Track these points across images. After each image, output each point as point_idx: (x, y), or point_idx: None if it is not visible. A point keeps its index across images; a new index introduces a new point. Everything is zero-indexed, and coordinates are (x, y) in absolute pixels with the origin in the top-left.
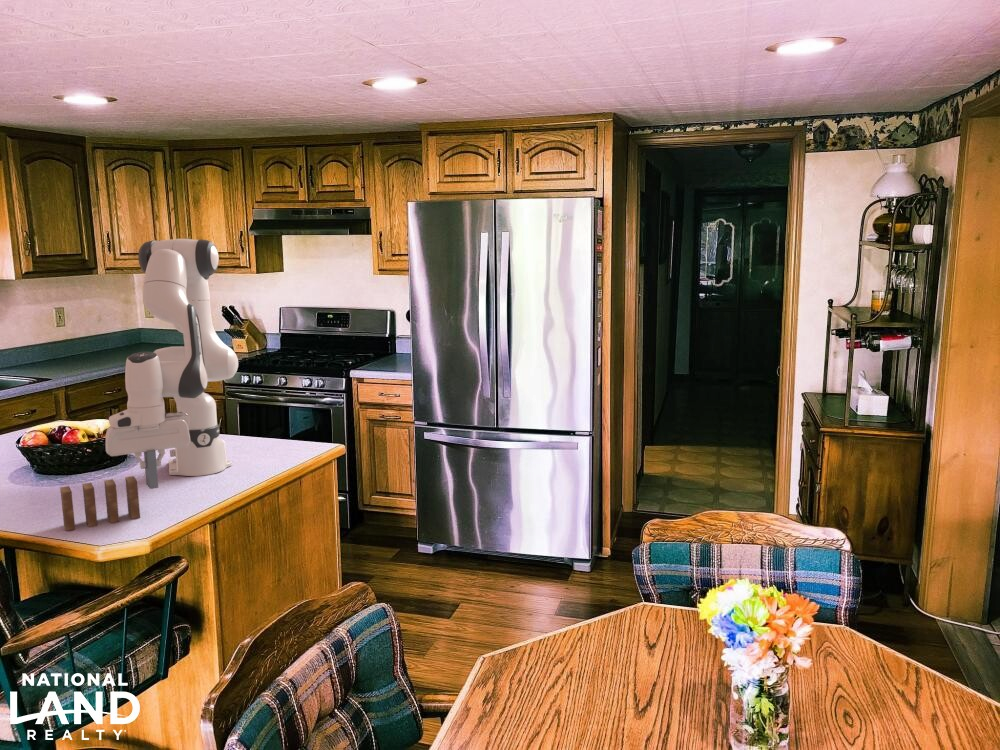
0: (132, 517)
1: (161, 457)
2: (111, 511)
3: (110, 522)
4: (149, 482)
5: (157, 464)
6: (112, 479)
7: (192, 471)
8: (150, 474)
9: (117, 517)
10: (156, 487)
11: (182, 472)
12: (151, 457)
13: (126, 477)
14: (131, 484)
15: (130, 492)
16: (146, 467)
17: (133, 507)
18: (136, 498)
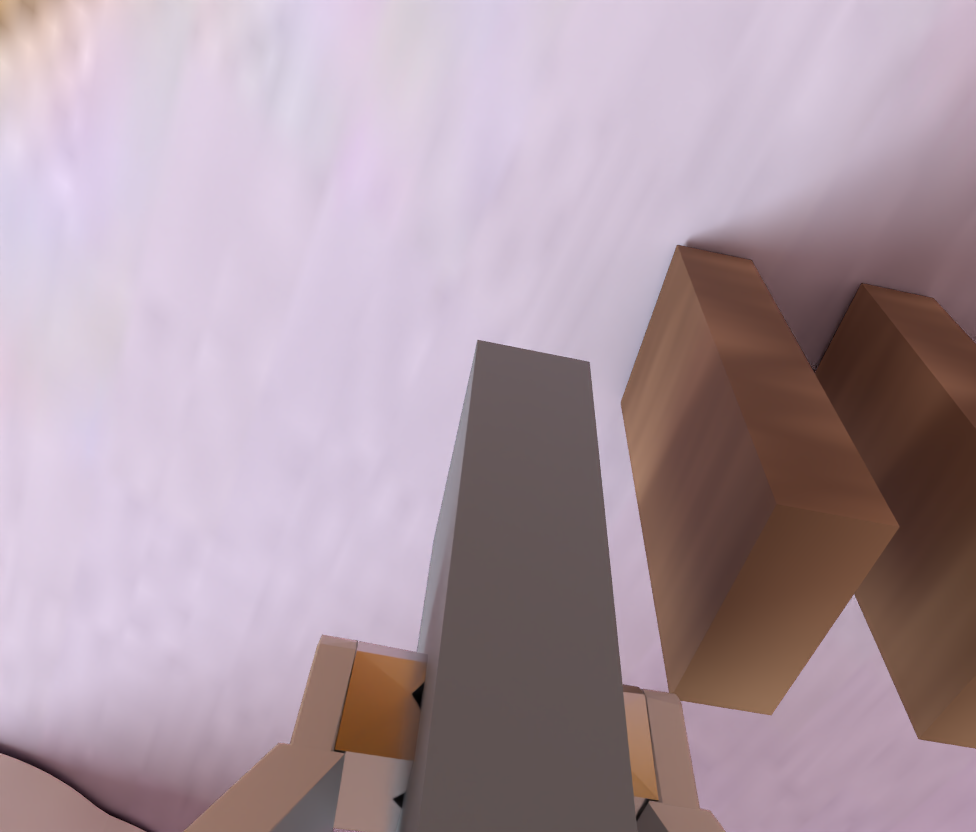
0: (747, 267)
1: (257, 791)
2: (970, 353)
3: (935, 302)
4: (595, 421)
5: (382, 675)
6: (927, 732)
7: (13, 796)
8: (579, 503)
9: (889, 305)
10: (501, 347)
11: (80, 820)
12: (539, 830)
13: (769, 699)
14: (844, 490)
15: (829, 419)
16: None
17: (757, 309)
18: (741, 353)
